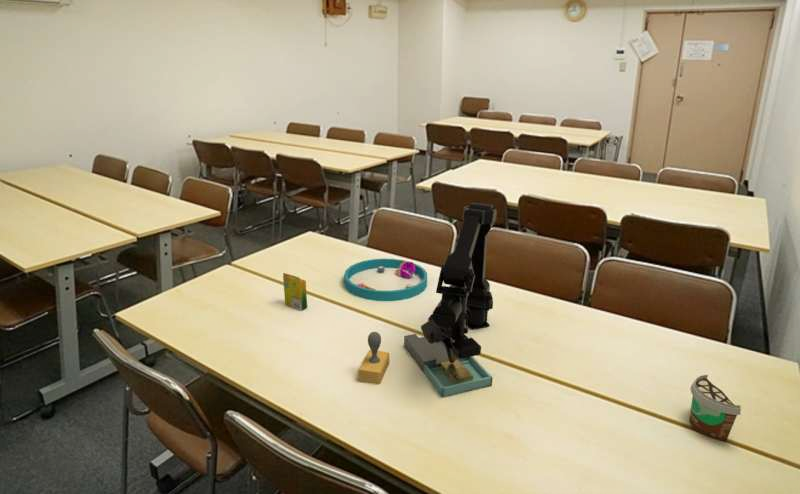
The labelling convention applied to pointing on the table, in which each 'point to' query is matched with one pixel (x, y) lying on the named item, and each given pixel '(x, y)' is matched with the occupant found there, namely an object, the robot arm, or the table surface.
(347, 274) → the teal ring
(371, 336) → the rubber stamp
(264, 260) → the table surface
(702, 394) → the food container
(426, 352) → the slotted plate
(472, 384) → the tray
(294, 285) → the crayon box
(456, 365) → the brass chip
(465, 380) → the brass chip
